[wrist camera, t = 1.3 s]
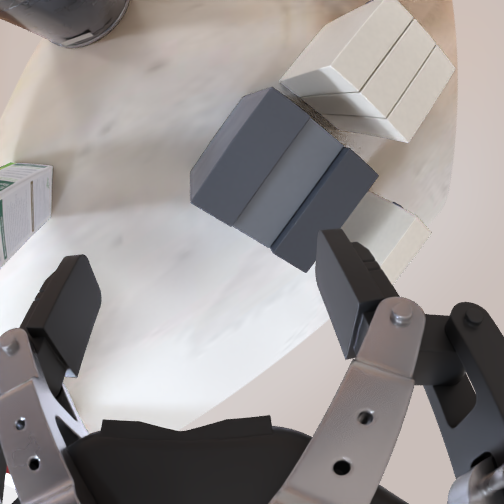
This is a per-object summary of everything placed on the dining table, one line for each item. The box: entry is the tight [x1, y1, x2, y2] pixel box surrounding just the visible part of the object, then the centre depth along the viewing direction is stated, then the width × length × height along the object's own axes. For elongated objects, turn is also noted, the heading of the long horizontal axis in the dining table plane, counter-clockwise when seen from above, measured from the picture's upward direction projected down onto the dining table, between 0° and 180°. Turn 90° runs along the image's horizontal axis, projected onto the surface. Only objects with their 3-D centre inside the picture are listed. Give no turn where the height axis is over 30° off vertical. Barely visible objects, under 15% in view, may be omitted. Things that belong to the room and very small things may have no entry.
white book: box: [341, 190, 432, 285], centre depth 29 cm, size 3×9×12 cm, turn 145°
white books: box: [279, 0, 456, 143], centre depth 22 cm, size 8×9×12 cm
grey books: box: [190, 87, 379, 273], centre depth 25 cm, size 10×9×11 cm
